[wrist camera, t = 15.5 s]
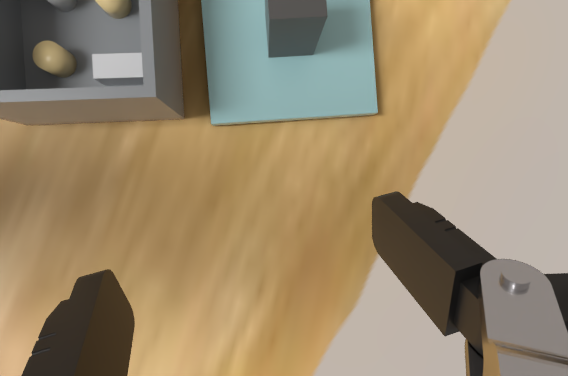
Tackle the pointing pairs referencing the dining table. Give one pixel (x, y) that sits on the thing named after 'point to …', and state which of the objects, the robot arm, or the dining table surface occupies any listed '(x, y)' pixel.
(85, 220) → the dining table surface
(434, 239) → the robot arm
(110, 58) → the tub
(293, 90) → the lid
